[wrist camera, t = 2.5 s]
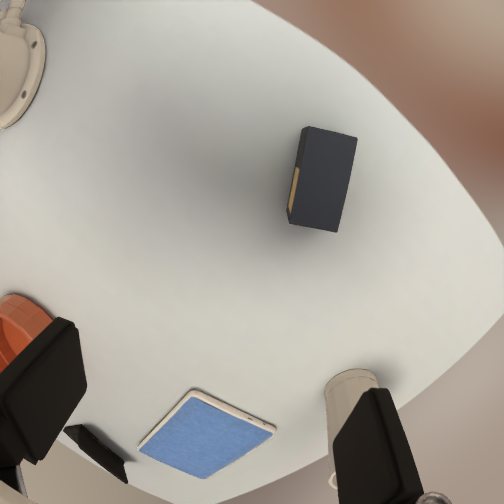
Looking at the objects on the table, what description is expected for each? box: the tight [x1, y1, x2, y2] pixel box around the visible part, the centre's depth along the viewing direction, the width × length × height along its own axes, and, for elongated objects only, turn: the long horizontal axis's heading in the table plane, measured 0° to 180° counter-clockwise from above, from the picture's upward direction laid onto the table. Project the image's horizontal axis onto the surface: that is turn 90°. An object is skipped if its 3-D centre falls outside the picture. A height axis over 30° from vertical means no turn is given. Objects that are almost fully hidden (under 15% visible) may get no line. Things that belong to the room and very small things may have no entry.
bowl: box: [0, 294, 53, 373], centre depth 31 cm, size 15×15×5 cm
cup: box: [324, 369, 379, 490], centre depth 26 cm, size 8×8×12 cm
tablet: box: [137, 390, 276, 479], centre depth 36 cm, size 19×13×1 cm, turn 145°
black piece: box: [63, 424, 128, 484], centre depth 38 cm, size 12×7×10 cm
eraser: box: [286, 126, 358, 232], centre depth 23 cm, size 7×4×4 cm, turn 170°
